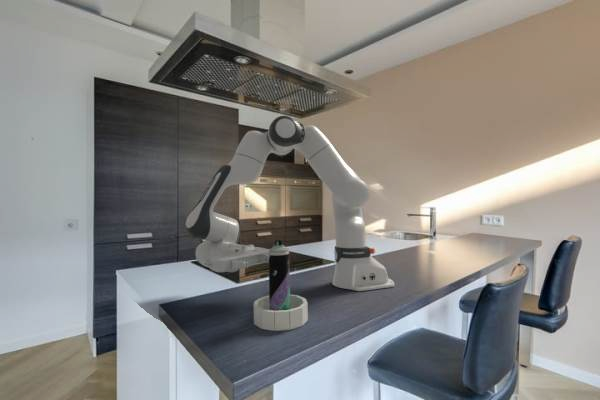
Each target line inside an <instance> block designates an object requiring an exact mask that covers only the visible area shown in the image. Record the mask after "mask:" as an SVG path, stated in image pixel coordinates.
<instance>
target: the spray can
mask: <svg viewBox="0 0 600 400" xmlns="http://www.w3.org/2000/svg"><path fill="white" fill-rule="evenodd" d="M274 241H275V242H274V244H272V247H271V248H270V249H269V253H268V255H269V263H268V296H269V305H270V310H273V311H279V310H290V294H291V287H290V283H291V281H290V275H291V274H290V251H289V248H287V247H286V246H285V245H284V244H283V242H282V239H280V240H274Z"/></svg>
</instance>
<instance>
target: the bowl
mask: <svg viewBox="0 0 600 400" xmlns="http://www.w3.org/2000/svg"><path fill="white" fill-rule="evenodd" d="M308 307H309V305H308V300H307V299H306V298H305V297H302V296H301V295H298V294H292V293H290V310H279V311H273V310H270V305H269V295H265V296H261V297H260V298H258V299H256V300H254V302H253V325H255V326H257V327H258V328H260V329H262V330H266V331H272V332H277V331H278V332H280V331H290V330H293V329H297V328H300V327H302V326H303V325H305V324H306V323H307V322H308V320H309V318H308V317H309V311H308V309H309V308H308Z"/></svg>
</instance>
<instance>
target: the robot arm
mask: <svg viewBox="0 0 600 400" xmlns="http://www.w3.org/2000/svg"><path fill="white" fill-rule="evenodd" d="M293 150H296V151H298V152H299V153H300V154H302V156H303V157H304V159H305V160H306V162H307V163H308V164H309V165H310V167H311V168H312V170H313V171H314V173H315V174H316V175H317V177H318V178H319V180H321V181H322V183H323V184H324V185H325V186H326V187H327V189H328V190H329V191H330V192H331V193H332V194H331V197H332V198H331V199H332V206H333V207H332V208H333V210H332V211H333V218H334V224H335V225H334V228H335V246H334V261H335V265H334V267H335V268H334V274H333V278H332V279H333V280H332V282H331V283H332V285H333V286H335V287H336V288H340V289H346V290H352V291H355V292H362V291H363V292H364V291H371V290H378V289H386V288H394V287H395V282H394V280H393V279H391V278H390V277H388V272H387V269H386V267H385V265H383V264H382V263H381V262H379V261H378V260H377V259H376V258H374V257H373V256H371V255H375V254H376V251H375V248H374V247H368V246H367V245H366V223H365V221H364V216H363V212H362V211H363V210H362V207H364V206H365V205H366V204H367V203H368V201H369V199H370V196H371V194H370V193H371V192H370V189H369V186H368V185H367V183H365V182H364V181H363V180H362V179H361V178H360V177H359V176H358V174H357V173H356V172H355V171H354V170H353V169H352V168H351V167H350V166H349V165H348V164H347V163H346V161H345V160H344V159H343V157H341V155H340V154H339V152H338V151H337V150H336V148H335V147H334V146H333V144H332V143H331V142H330V140H329V139H328V138H327V136H326V135H325V134H324V133H323V132H322V130H320V129H319V128H318V127H317V126H315V125H314V124H308V125H304V124H303V123H301V122H298V121H297V120H296V119H294V118H293V117H291V116H288V115H280V116H278V117H276V118H274V119H273V120H272V122H270V124H269V128H268V130H267V131H266V132H261V131H259V130H249V131H247V132H246V133H245V134H244V136H243V137H242V139H241V140H240V142H239V144H238V146H237V148H236V150H235V152H234V156H233V158H232V159H231V161H230V162H229V163H227V164H223V165H221V166H220V167H219V169H218V170H217V171H216V173H215V174H214V176H212V178H211V180H210V182H209V183H208V185H207V187H206V188H205V190H204V192H203V194H202V195H201V197H200V199H198V202H197V203H196V204H195V206H194V207H193V209H191V211H190V212H189V213H188V215H187V217H186V219H185V223H184V225H185V226H184V227H185V230H186V232H187V233H188V235H189V237H190V238H192V239H197V240H202V242H201V243H200V244H198V246H197V247H196V248H195V254H194V255H195V258H196V260H197V262H198V263H199V264H201V265H202V266H203V267H206V268H209V269H210V270H211V271H213V272H216V273H225V272H228V273H236V272H238V271H239V270H240V269H241V270H244V269H249V267H253V266H256V265H262V264H265V263H267V264H269V255H268V253H269V249H268V248H264V247H262V246H261V247H259V246H258V247H257V246H255V245H254V244H239V240H240V236H241V225H240V224H239V221H238V220H237V219H236V218H232V217H231V216H230V217H229V216H227V215H224V214H221V213H218V212H215V211H214V209H215V207H216V205H217V203H218V201H219V199H220V198H221V196H222V194H223V193H224V191H225V189H226V188H228V187H230V186H234V185H242V186H243V185H244V186H245V185H250V184H253V183H254V182H256V181H258V179H259V178H260V176H261V175H262V172H263V170H264V167H265V165H266V161H267V158H268V156H270V157H278V158H279V157H281V158H282V157H285V156H288V155H289V154H290V153H291V152H292V151H293ZM203 240H204V241H203Z"/></svg>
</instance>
